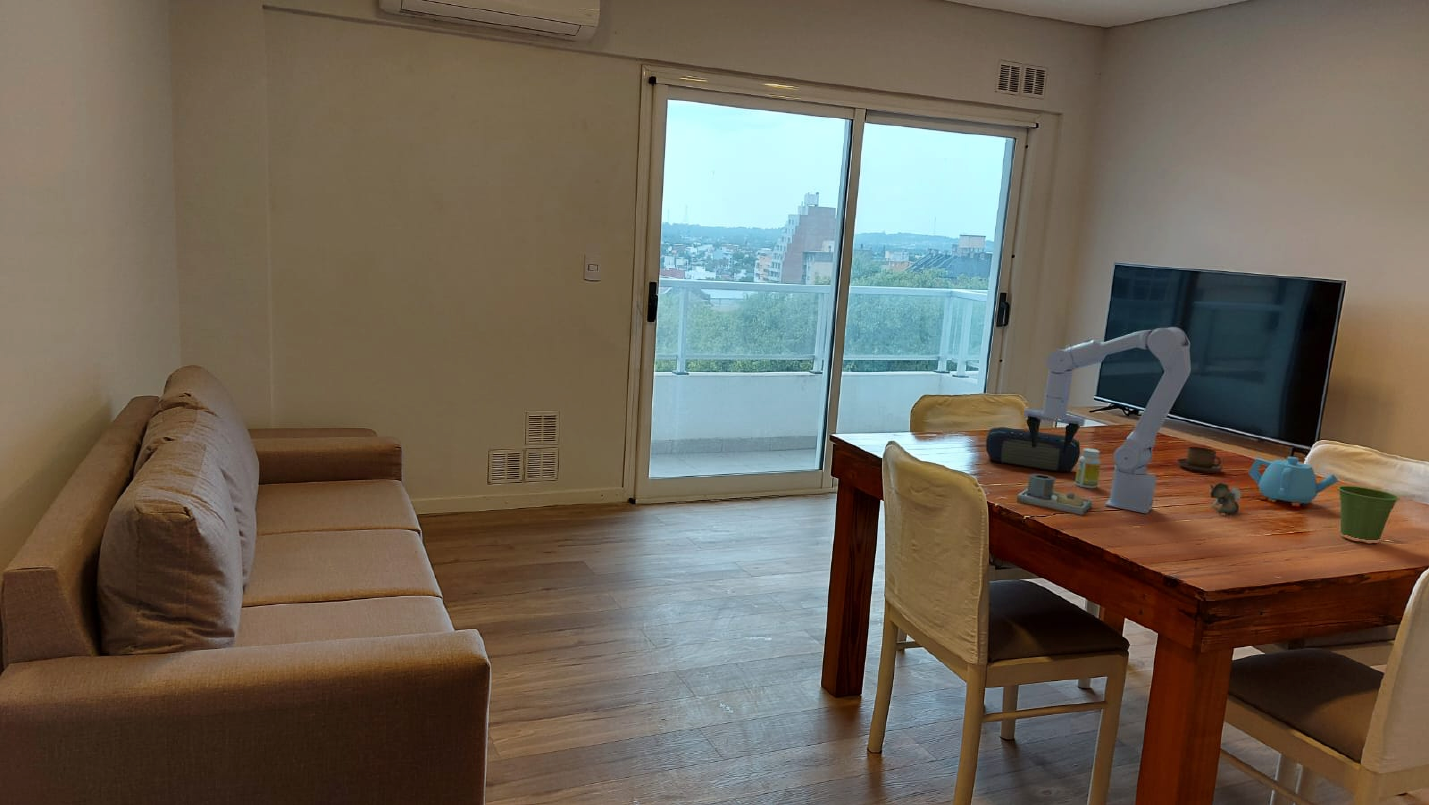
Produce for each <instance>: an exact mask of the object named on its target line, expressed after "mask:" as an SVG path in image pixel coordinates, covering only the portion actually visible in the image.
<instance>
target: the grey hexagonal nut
mask: <svg viewBox="0 0 1429 805" xmlns="http://www.w3.org/2000/svg"><path fill="white" fill-rule="evenodd" d="M1055 480H1056V478H1055V477H1054V476H1051V475H1048V474H1043V473H1030V474H1029V475H1028V484H1027V488H1028V490H1027V496H1029V497H1034V498H1038V499H1043V500H1051V499H1052V497H1053V492H1054V489H1055V482H1056V481H1055Z"/></svg>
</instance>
